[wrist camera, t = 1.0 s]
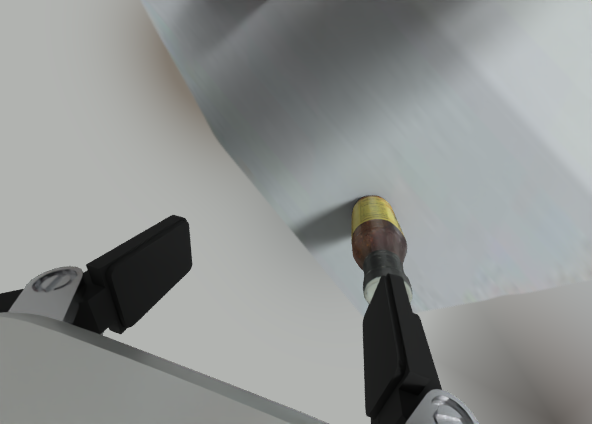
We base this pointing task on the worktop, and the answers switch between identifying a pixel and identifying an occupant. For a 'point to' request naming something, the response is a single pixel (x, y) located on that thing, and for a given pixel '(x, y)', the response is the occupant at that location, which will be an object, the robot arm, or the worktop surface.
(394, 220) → the sauce bottle
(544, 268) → the worktop surface
